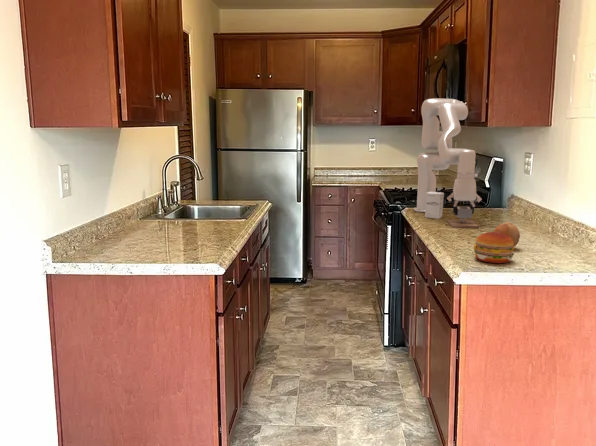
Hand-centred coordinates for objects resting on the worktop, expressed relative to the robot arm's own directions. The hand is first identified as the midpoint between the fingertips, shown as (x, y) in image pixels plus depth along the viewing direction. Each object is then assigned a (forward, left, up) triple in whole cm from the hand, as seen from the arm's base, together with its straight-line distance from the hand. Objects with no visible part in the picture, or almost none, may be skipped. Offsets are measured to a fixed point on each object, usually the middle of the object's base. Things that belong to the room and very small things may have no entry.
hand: (463, 214), depth 257 cm
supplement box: (-19, -11, -5) cm, 23 cm away
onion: (+48, +8, -5) cm, 49 cm away
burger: (+68, -1, -5) cm, 68 cm away
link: (0, 0, -1) cm, 1 cm away
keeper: (0, 0, -5) cm, 5 cm away
